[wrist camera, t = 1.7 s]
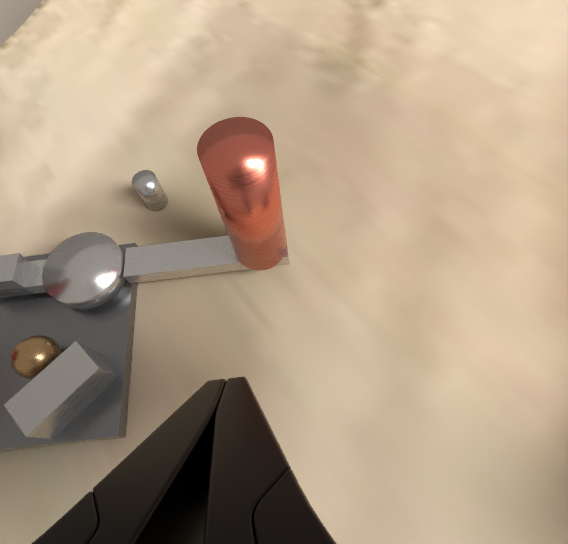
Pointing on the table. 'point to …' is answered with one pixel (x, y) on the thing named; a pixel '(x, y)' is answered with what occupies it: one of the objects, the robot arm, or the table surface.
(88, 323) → the base
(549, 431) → the table surface
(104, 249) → the lever
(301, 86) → the table surface
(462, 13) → the table surface
